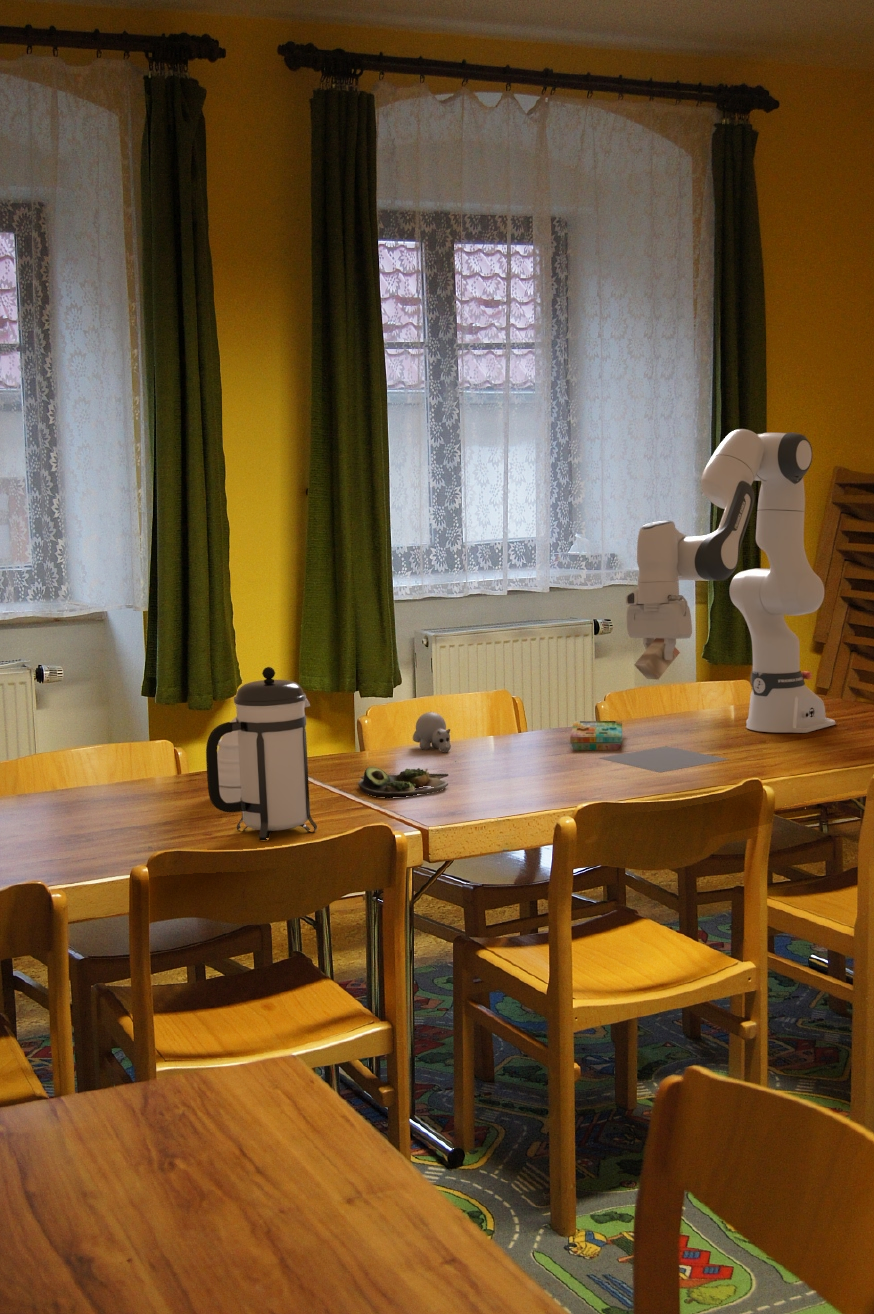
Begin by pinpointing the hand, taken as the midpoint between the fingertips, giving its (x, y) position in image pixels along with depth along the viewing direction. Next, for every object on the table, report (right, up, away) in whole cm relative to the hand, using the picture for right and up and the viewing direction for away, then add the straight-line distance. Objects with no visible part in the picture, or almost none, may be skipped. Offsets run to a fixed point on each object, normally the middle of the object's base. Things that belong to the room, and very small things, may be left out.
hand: (659, 659), depth 280 cm
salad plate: (-56, -27, -15) cm, 64 cm away
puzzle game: (-10, -20, +25) cm, 34 cm away
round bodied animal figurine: (-49, -22, +25) cm, 59 cm away
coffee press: (-78, -31, -48) cm, 97 cm away
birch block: (-3, -3, -1) cm, 4 cm away
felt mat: (+1, -22, +3) cm, 22 cm away
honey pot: (-88, -28, -18) cm, 94 cm away
